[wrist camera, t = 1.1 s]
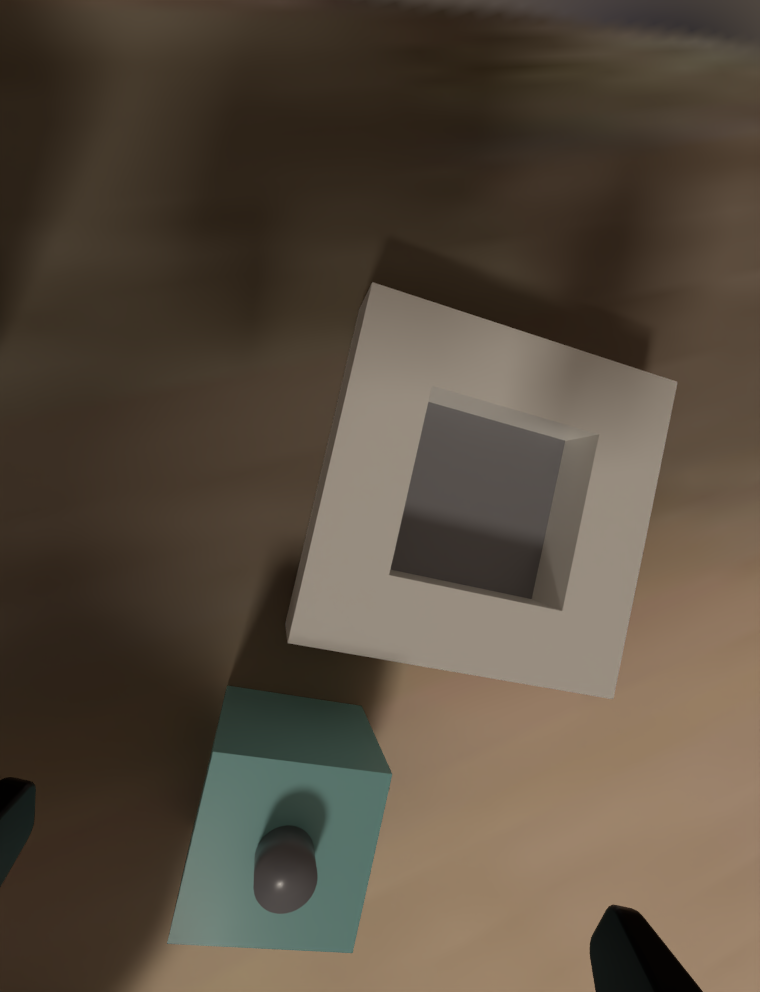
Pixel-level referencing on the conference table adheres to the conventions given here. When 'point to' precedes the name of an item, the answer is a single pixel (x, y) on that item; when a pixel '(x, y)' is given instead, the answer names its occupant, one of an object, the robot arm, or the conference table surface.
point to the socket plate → (480, 500)
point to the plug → (283, 826)
